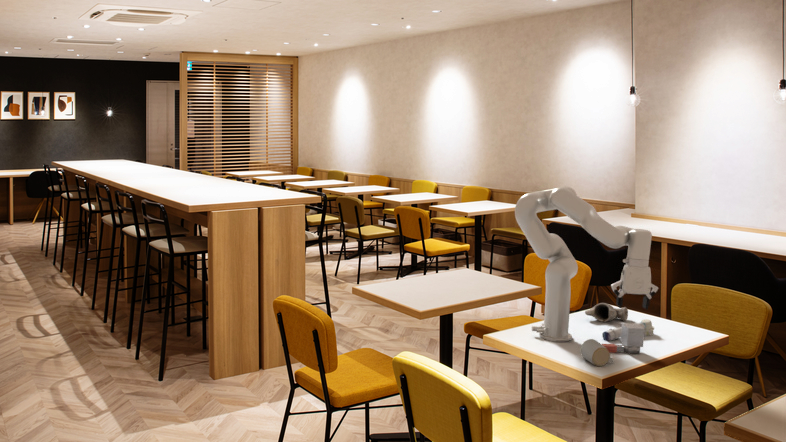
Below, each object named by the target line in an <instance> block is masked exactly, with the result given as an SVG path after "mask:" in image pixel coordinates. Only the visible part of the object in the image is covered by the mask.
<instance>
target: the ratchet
mask: <svg viewBox="0 0 786 442" xmlns="http://www.w3.org/2000/svg"><path fill="white" fill-rule="evenodd" d="M601 345H603V346H604V347H605V348H606V349H607V350H608V351H609V353H614V354H615V353H618V352H619V353H624V354H627V355H635V356H636V355H640V354H641V347H627V346H626V345H624V344H623V343H622V342H621V344H615V343H601Z"/></svg>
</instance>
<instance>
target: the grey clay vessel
mask: <svg viewBox="0 0 786 442" xmlns="http://www.w3.org/2000/svg"><path fill="white" fill-rule="evenodd" d="M584 314H585V315H586V316H590V317H592V318H594V319H595V320H597V321H598V322H601V323H606V322H609V321H612V320H614V319H618V320H619V319H620V321H622V320H623V322H627V320H628V316H629V309H628V308H627V307H626V306H624V307H623V306H622V308H617V307H616V308H615V307H613V306H612V305H611V304H609V303H606V302H600V303H597V304H596V305H594V306H592V307H591V308H590V309H587V310H585V311H584Z"/></svg>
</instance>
